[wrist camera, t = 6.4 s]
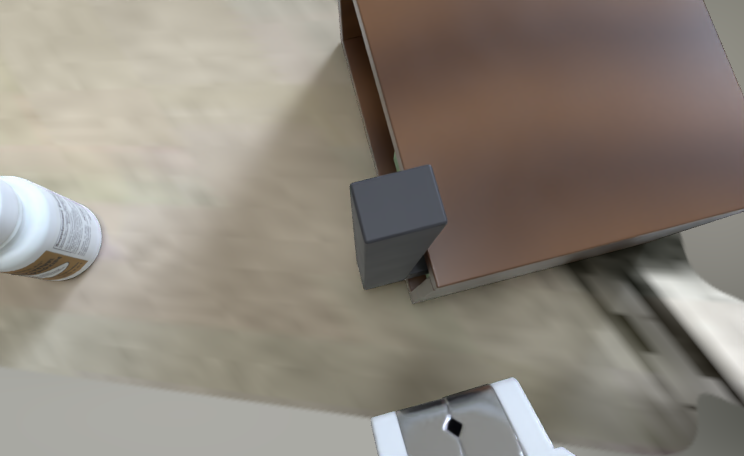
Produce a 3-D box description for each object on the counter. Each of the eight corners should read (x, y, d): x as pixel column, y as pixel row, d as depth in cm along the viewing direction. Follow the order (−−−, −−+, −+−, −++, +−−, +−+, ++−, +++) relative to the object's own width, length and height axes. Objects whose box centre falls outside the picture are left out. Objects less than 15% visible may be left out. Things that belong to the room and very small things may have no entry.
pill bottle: (18, 282, 29) (-107, 263, 21) (27, 202, 29) (-89, 157, 22) (100, 281, 29) (6, 262, 21) (108, 202, 30) (19, 156, 22)
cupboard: (646, 242, 30) (787, 197, 20) (412, 304, 29) (437, 288, 19) (556, -9, 32) (639, -156, 23) (340, 40, 32) (330, -91, 22)
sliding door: (436, 280, 28) (529, 214, 12) (365, 299, 27) (367, 255, 12) (401, 155, 29) (445, -47, 14) (332, 172, 29) (297, -15, 13)
